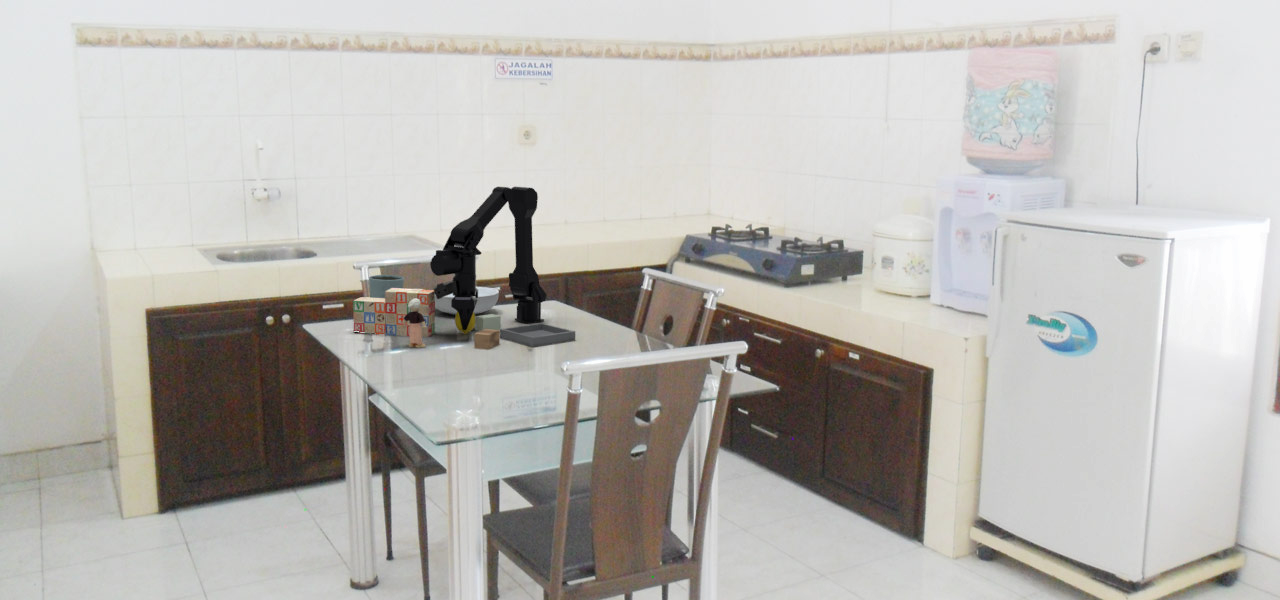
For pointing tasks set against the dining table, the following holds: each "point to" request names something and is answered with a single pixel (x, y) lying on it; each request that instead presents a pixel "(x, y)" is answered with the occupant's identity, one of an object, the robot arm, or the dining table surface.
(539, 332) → the charcoal tray
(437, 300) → the serving bowl
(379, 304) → the stack of blocks
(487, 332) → the walnut block
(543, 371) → the dining table surface
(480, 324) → the sage block
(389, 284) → the blue-grey pot
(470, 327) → the lemon
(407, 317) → the grandmother figurine
